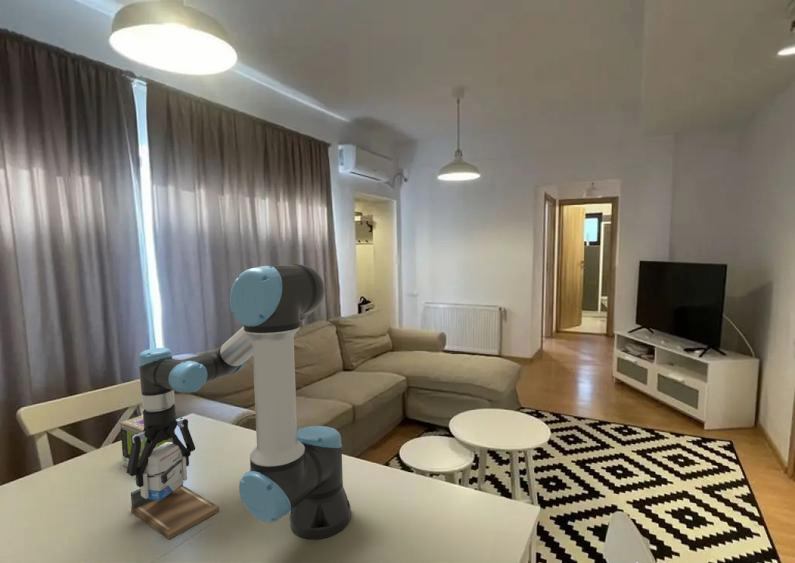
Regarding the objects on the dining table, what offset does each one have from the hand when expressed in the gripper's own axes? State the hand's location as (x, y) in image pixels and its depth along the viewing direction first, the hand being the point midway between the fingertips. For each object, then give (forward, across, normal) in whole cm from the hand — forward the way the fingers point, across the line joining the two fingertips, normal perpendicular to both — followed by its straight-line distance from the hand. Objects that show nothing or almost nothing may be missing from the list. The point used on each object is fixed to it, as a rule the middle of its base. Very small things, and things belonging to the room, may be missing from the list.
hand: (164, 487), depth 113 cm
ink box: (+1, 0, 0) cm, 1 cm away
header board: (+5, 0, +5) cm, 7 cm away
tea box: (+5, -8, -27) cm, 29 cm away
